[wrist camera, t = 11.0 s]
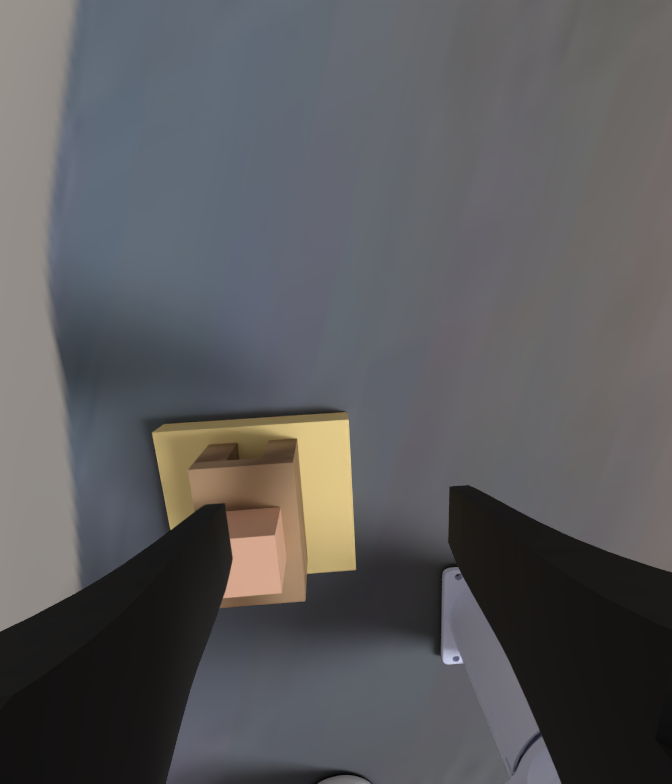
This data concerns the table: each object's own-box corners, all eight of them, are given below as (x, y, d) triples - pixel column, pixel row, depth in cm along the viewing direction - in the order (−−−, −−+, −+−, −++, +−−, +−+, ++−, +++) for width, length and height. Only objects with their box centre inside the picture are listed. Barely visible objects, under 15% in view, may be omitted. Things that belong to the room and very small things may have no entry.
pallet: (297, 438, 20) (292, 462, 17) (307, 558, 21) (305, 601, 18) (208, 444, 19) (187, 470, 16) (227, 565, 21) (211, 608, 18)
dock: (346, 412, 21) (348, 419, 20) (353, 553, 23) (356, 570, 22) (163, 424, 21) (151, 432, 19) (189, 566, 23) (180, 583, 22)
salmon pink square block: (280, 506, 17) (274, 535, 15) (286, 559, 18) (281, 593, 16) (219, 511, 17) (205, 540, 15) (227, 563, 18) (214, 598, 16)
